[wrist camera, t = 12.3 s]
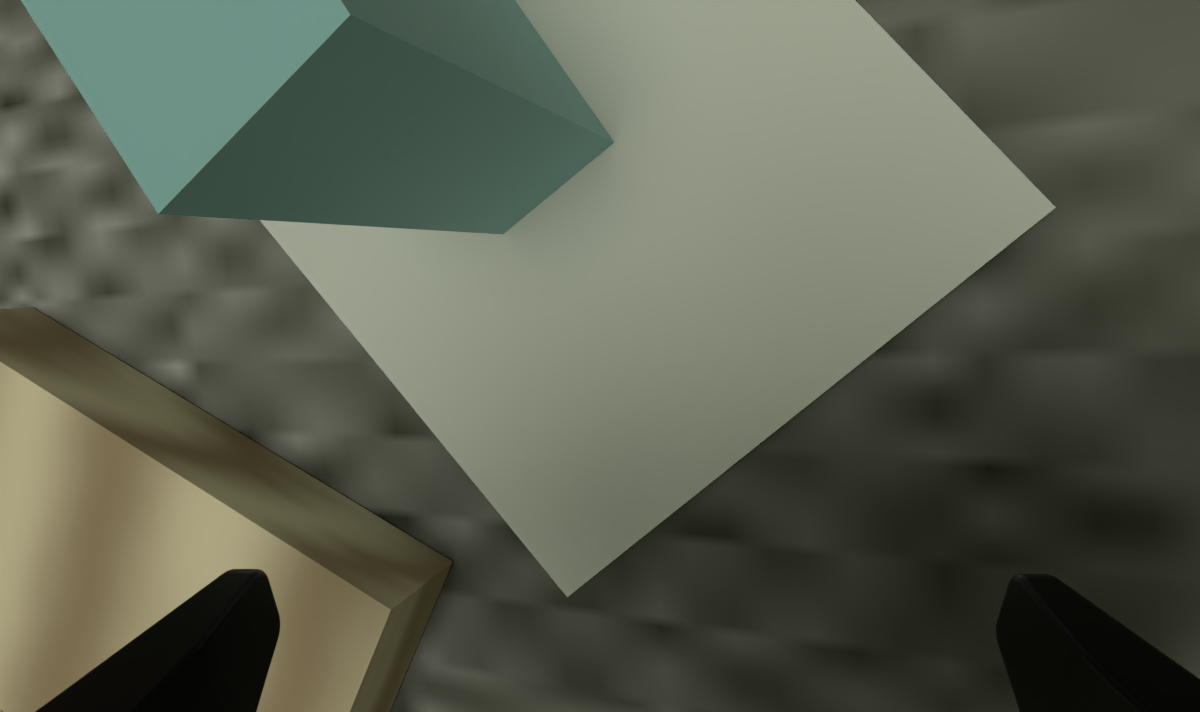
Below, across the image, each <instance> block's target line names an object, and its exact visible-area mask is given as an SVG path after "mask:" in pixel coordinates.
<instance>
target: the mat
mask: <svg viewBox="0 0 1200 712" xmlns="http://www.w3.org/2000/svg"><path fill="white" fill-rule="evenodd" d="M515 1H516V2H517V4H518V5H519V7H520V8H521V10H522V11H523V12H524V14H525V15H526V17H527V18H528V19H529V21H530V22H531V24H532V25H533V27H534V28H535V29H536V31H537V32H538V34H539V35H540V37H541V38H542V39H543V41H544V42H545V44H546V45H547V47H548V48H549V49H550V51H551V52H552V54H553V55H554V57H555V58H556V59H557V61H558V62H559V64H560V65H561V67H562V68H563V69H564V71H565V72H566V74H567V75H568V77H569V78H570V79H571V81H572V82H573V84H574V85H575V87H576V88H577V89H578V91H579V92H580V94H581V95H582V97H583V98H584V99H585V101H586V102H587V104H588V105H589V107H590V108H591V109H592V111H593V112H594V114H595V115H596V117H597V118H598V119H599V121H600V122H601V124H602V125H603V127H604V128H605V129H606V131H607V132H608V134H609V135H610V137H611V138H612V139H613V141H614V143H613V144H612V145H611V146H610V147H608V148H607V149H606V150H605V151H604V152H602V153H601V154H600V155H599V156H597V157H596V158H595V159H594V160H593V161H591V162H590V163H589V164H588V165H587V166H585V167H584V168H583V169H582V170H580V171H579V172H578V173H577V174H576V175H574V176H573V177H572V178H571V179H570V180H568V181H567V182H566V183H565V184H564V185H562V186H561V187H560V188H559V189H557V190H556V191H555V192H554V193H553V194H551V195H550V196H549V197H548V198H547V199H545V200H544V201H543V202H542V203H540V204H539V205H538V206H537V207H536V208H534V209H533V210H532V211H531V212H530V213H528V214H527V215H526V216H525V217H524V218H522V219H521V220H520V221H519V222H517V223H516V224H515V225H514V226H513V227H511V228H510V229H509V230H508V231H507V232H505V233H504V234H488V233H471V232H454V231H437V230H420V229H403V228H386V227H369V226H352V225H335V224H319V223H302V222H285V221H268V220H260V221H261V222H262V223H263V225H264V226H265V227H266V228H267V230H268V231H269V232H270V233H271V235H272V236H273V237H274V238H275V239H276V241H277V242H278V243H279V244H280V246H281V247H282V248H283V249H284V250H285V252H286V253H287V254H288V255H289V257H290V258H291V259H292V260H293V262H294V263H295V264H296V265H297V266H298V268H299V269H300V270H301V271H302V273H303V274H304V275H305V276H306V277H307V279H308V280H309V281H310V282H311V284H312V285H313V286H314V287H315V289H316V290H317V291H318V292H319V293H320V295H321V296H322V297H323V298H324V300H325V301H326V302H327V303H328V304H329V306H330V307H331V308H332V309H333V311H334V312H335V313H336V314H337V315H338V317H339V318H340V319H341V320H342V322H343V323H344V324H345V325H346V327H347V328H348V329H349V330H350V331H351V333H352V334H353V335H354V336H355V338H356V339H357V340H358V341H359V342H360V344H361V345H362V346H363V347H364V349H365V350H366V351H367V352H368V354H369V355H370V356H371V357H372V358H373V360H374V361H375V362H376V363H377V365H378V366H379V367H380V368H381V369H382V371H383V372H384V373H385V374H386V376H387V377H388V378H389V379H390V381H391V382H392V383H393V384H394V385H395V387H396V388H397V389H398V390H399V392H400V393H401V394H402V395H403V396H404V398H405V399H406V400H407V401H408V403H409V404H410V405H411V406H412V407H413V409H414V410H415V411H416V412H417V414H418V415H419V416H420V417H421V419H422V420H423V421H424V422H425V423H426V425H427V426H428V427H429V428H430V430H431V431H432V432H433V433H434V434H435V436H436V437H437V438H438V439H439V441H440V442H441V443H442V444H443V446H444V447H445V448H446V449H447V450H448V452H449V453H450V454H451V455H452V457H453V458H454V459H455V460H456V461H457V463H458V464H459V465H460V466H461V468H462V469H463V470H464V471H465V473H466V474H467V475H468V476H469V477H470V479H471V480H472V481H473V482H474V484H475V485H476V486H477V487H478V488H479V490H480V491H481V492H482V493H483V495H484V496H485V497H486V498H487V499H488V501H489V502H490V503H491V504H492V506H493V507H494V508H495V509H496V511H497V512H498V513H499V514H500V515H501V517H502V518H503V519H504V520H505V522H506V523H507V524H508V525H509V526H510V528H511V529H512V530H513V531H514V533H515V534H516V535H517V536H518V538H519V539H520V540H521V541H522V542H523V544H524V545H525V546H526V547H527V549H528V550H529V551H530V552H531V553H532V555H533V556H534V557H535V558H536V560H537V561H538V562H539V563H540V565H541V566H542V567H543V568H544V569H545V571H546V572H547V573H548V574H549V576H550V577H551V578H552V579H553V580H554V582H555V583H556V584H557V585H558V587H559V588H560V589H561V590H562V591H563V593H564V594H565V595H566V596H567V597H568V596H570V595H571V594H572V593H573V592H575V591H576V590H577V589H578V588H580V587H581V586H582V585H583V584H585V583H586V582H587V581H588V580H590V579H591V578H592V577H593V576H595V575H596V574H597V573H598V572H600V571H601V570H602V569H603V568H605V567H606V566H607V565H608V564H610V563H611V562H612V561H613V560H615V559H616V558H617V557H618V556H620V555H621V554H622V553H623V552H625V551H626V550H627V549H628V548H630V547H631V546H632V545H633V544H635V543H636V542H637V541H638V540H640V539H641V538H642V537H643V536H645V535H646V534H647V533H649V532H650V531H651V530H652V529H654V528H655V527H656V526H657V525H659V524H660V523H661V522H662V521H664V520H665V519H666V518H667V517H669V516H670V515H671V514H672V513H674V512H675V511H676V510H677V509H679V508H680V507H681V506H682V505H684V504H685V503H686V502H687V501H689V500H690V499H691V498H692V497H694V496H695V495H696V494H697V493H699V492H700V491H701V490H702V489H704V488H705V487H706V486H707V485H709V484H710V483H711V482H712V481H714V480H715V479H716V478H717V477H719V476H720V475H721V474H722V473H724V472H725V471H726V470H727V469H729V468H730V467H731V466H732V465H734V464H735V463H736V462H737V461H739V460H740V459H741V458H742V457H744V456H745V455H746V454H747V453H749V452H750V451H751V450H752V449H754V448H755V447H756V446H758V445H759V444H760V443H761V442H763V441H764V440H765V439H766V438H768V437H769V436H770V435H771V434H773V433H774V432H775V431H776V430H778V429H779V428H780V427H781V426H783V425H784V424H785V423H786V422H788V421H789V420H790V419H791V418H793V417H794V416H795V415H796V414H798V413H799V412H800V411H801V410H803V409H804V408H805V407H806V406H808V405H809V404H810V403H811V402H813V401H814V400H815V399H816V398H818V397H819V396H820V395H821V394H823V393H824V392H825V391H826V390H828V389H829V388H830V387H831V386H833V385H834V384H835V383H836V382H838V381H839V380H840V379H841V378H843V377H844V376H845V375H846V374H848V373H849V372H850V371H851V370H853V369H854V368H855V367H856V366H858V365H859V364H860V363H861V362H863V361H864V360H865V359H866V358H868V357H869V356H870V355H872V354H873V353H874V352H875V351H877V350H878V349H879V348H880V347H882V346H883V345H884V344H885V343H887V342H888V341H889V340H890V339H892V338H893V337H894V336H895V335H897V334H898V333H899V332H900V331H902V330H903V329H904V328H905V327H907V326H908V325H909V324H910V323H912V322H913V321H914V320H915V319H917V318H918V317H919V316H920V315H922V314H923V313H924V312H925V311H927V310H928V309H929V308H930V307H932V306H933V305H934V304H935V303H937V302H938V301H939V300H940V299H942V298H943V297H944V296H945V295H947V294H948V293H949V292H950V291H952V290H953V289H954V288H955V287H957V286H958V285H959V284H960V283H962V282H963V281H964V280H965V279H967V278H968V277H969V276H970V275H972V274H973V273H974V272H975V271H977V270H978V269H979V268H981V267H982V266H983V265H984V264H986V263H987V262H988V261H989V260H991V259H992V258H993V257H994V256H996V255H997V254H998V253H999V252H1001V251H1002V250H1003V249H1004V248H1006V247H1007V246H1008V245H1009V244H1011V243H1012V242H1013V241H1014V240H1016V239H1017V238H1018V237H1019V236H1021V235H1022V234H1023V233H1024V232H1026V231H1027V230H1028V229H1029V228H1031V227H1032V226H1033V225H1034V224H1036V223H1037V222H1038V221H1039V220H1041V219H1042V218H1043V217H1044V216H1046V215H1047V214H1048V213H1049V212H1051V211H1052V210H1053V209H1054V208H1056V207H1055V206H1054V205H1053V204H1052V203H1051V202H1050V201H1049V200H1048V199H1047V198H1046V197H1045V196H1044V195H1043V194H1042V193H1041V192H1040V191H1039V190H1038V189H1037V188H1036V187H1035V186H1034V185H1033V184H1032V182H1031V181H1030V180H1029V179H1028V178H1027V177H1026V176H1025V175H1024V174H1023V173H1022V172H1021V171H1020V170H1019V169H1018V168H1017V167H1016V166H1015V165H1014V164H1013V163H1012V162H1011V161H1010V160H1009V159H1008V158H1007V157H1006V156H1005V155H1004V154H1003V152H1002V151H1001V150H1000V149H999V148H998V147H997V146H996V145H995V144H994V143H993V142H992V141H991V140H990V139H989V138H988V137H987V136H986V135H985V134H984V133H983V132H982V131H981V130H980V129H979V128H978V127H977V126H976V125H975V124H974V123H973V121H972V120H971V119H970V118H969V117H968V116H967V115H966V114H965V113H964V112H963V111H962V110H961V109H960V108H959V107H958V106H957V105H956V104H955V103H954V102H953V101H952V100H951V99H950V98H949V97H948V96H947V95H946V94H945V93H944V92H943V90H942V89H941V88H940V87H939V86H938V85H937V84H936V83H935V82H934V81H933V80H932V79H931V78H930V77H929V76H928V75H927V74H926V73H925V72H924V71H923V70H922V69H921V68H920V67H919V66H918V65H917V64H916V63H915V62H914V61H913V59H912V58H911V57H910V56H909V55H908V54H907V53H906V52H905V51H904V50H903V49H902V48H901V47H900V46H899V45H898V44H897V43H896V42H895V41H894V40H893V39H892V38H891V37H890V36H889V35H888V34H887V33H886V32H885V31H884V30H883V28H882V27H881V26H880V25H879V24H878V23H877V22H876V21H875V20H874V19H873V18H872V17H871V16H870V15H869V14H868V13H867V12H866V11H865V10H864V9H863V8H862V7H861V6H860V5H859V4H858V3H857V2H856V1H855V0H515Z"/></svg>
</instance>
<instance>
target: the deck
mask: <svg viewBox="0 0 1200 712" xmlns="http://www.w3.org/2000/svg"><path fill="white" fill-rule="evenodd" d="M451 565H452V561H451V560H449V559H448V558H446V557H444V556H443V555H441V554H439V553H438V552H436V551H434V550H433V549H431V548H429V547H428V546H426V545H424V544H423V543H421V542H419V541H418V540H416V539H414V538H413V537H411V536H410V535H408V534H406V533H405V532H403V531H401V530H400V529H398V528H396V527H395V526H393V525H391V524H390V523H388V522H386V521H385V520H383V519H381V518H380V517H378V516H376V515H375V514H373V513H372V512H370V511H368V510H367V509H365V508H363V507H362V506H360V505H358V504H357V503H355V502H353V501H352V500H350V499H348V498H347V497H345V496H343V495H342V494H340V493H338V492H337V491H335V490H334V489H332V488H330V487H329V486H327V485H325V484H324V483H322V482H320V481H319V480H317V479H315V478H314V477H312V476H310V475H309V474H307V473H305V472H304V471H302V470H300V469H299V468H297V467H296V466H294V465H292V464H291V463H289V462H287V461H286V460H284V459H282V458H281V457H279V456H277V455H276V454H274V453H272V452H271V451H269V450H267V449H266V448H264V447H263V446H261V445H259V444H258V443H256V442H254V441H253V440H251V439H249V438H248V437H246V436H244V435H243V434H241V433H239V432H238V431H236V430H234V429H233V428H231V427H229V426H228V425H226V424H225V423H223V422H221V421H220V420H218V419H216V418H215V417H213V416H211V415H210V414H208V413H206V412H205V411H203V410H201V409H200V408H198V407H196V406H195V405H193V404H191V403H190V402H188V401H187V400H185V399H183V398H182V397H180V396H178V395H177V394H175V393H173V392H172V391H170V390H168V389H167V388H165V387H163V386H162V385H160V384H158V383H157V382H155V381H153V380H152V379H150V378H149V377H147V376H145V375H144V374H142V373H140V372H139V371H137V370H135V369H134V368H132V367H130V366H129V365H127V364H125V363H124V362H122V361H120V360H119V359H117V358H115V357H114V356H112V355H111V354H109V353H107V352H106V351H104V350H102V349H101V348H99V347H97V346H96V345H94V344H92V343H91V342H89V341H87V340H86V339H84V338H82V337H81V336H79V335H77V334H76V333H74V332H73V331H71V330H69V329H68V328H66V327H64V326H63V325H61V324H59V323H58V322H56V321H54V320H53V319H51V318H49V317H48V316H46V315H44V314H43V313H41V312H39V311H38V310H36V309H35V308H33V307H29V308H14V309H0V709H1V710H2V711H4V712H35V711H37V710H38V709H39V708H41V707H42V706H43V705H45V704H46V703H48V702H49V701H50V700H52V699H53V698H54V697H56V696H57V695H58V694H60V693H61V692H62V691H64V690H65V689H67V688H68V687H69V686H71V685H72V684H73V683H75V682H76V681H77V680H79V679H80V678H81V677H83V676H84V675H86V674H87V673H88V672H90V671H91V670H92V669H94V668H95V667H96V666H98V665H99V664H101V663H102V662H103V661H105V660H106V659H107V658H109V657H110V656H111V655H113V654H114V653H115V652H117V651H118V650H120V649H121V648H122V647H124V646H125V645H126V644H128V643H129V642H130V641H132V640H133V639H134V638H136V637H137V636H139V635H140V634H141V633H143V632H144V631H145V630H147V629H148V628H149V627H151V626H152V625H154V624H155V623H156V622H158V621H159V620H160V619H162V618H163V617H164V616H166V615H167V614H168V613H170V612H171V611H173V610H174V609H175V608H177V607H178V606H179V605H181V604H182V603H183V602H185V601H186V600H187V599H189V598H190V597H192V596H193V595H194V594H196V593H197V592H198V591H200V590H201V589H202V588H204V587H205V586H207V585H208V584H209V583H211V582H212V581H213V580H215V579H216V578H217V577H219V576H220V575H221V574H223V573H225V572H226V571H228V570H231V569H259V570H263V571H264V572H265V573H266V574H267V576H268V579H269V582H270V585H271V589H272V592H273V595H274V599H275V602H276V605H277V609H278V612H279V616H280V633H279V637H278V641H277V644H276V648H275V651H274V654H273V658H272V661H271V664H270V668H269V671H268V674H267V678H266V681H265V684H264V688H263V691H262V694H261V698H260V701H259V705H258V708H257V711H256V712H390V710H391V708H392V705H393V703H394V701H395V698H396V696H397V693H398V691H399V689H400V686H401V684H402V682H403V679H404V677H405V674H406V672H407V670H408V667H409V665H410V662H411V660H412V658H413V655H414V653H415V651H416V648H417V646H418V643H419V641H420V639H421V636H422V634H423V632H424V629H425V627H426V624H427V622H428V620H429V617H430V615H431V612H432V610H433V608H434V605H435V603H436V601H437V598H438V596H439V593H440V591H441V589H442V586H443V584H444V582H445V579H446V577H447V574H448V572H449V570H450V567H451Z"/></svg>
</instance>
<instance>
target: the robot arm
mask: <svg viewBox="0 0 1200 712" xmlns="http://www.w3.org/2000/svg"><path fill="white" fill-rule="evenodd" d="M279 633H280V616H279V612H278V609H277V605H276V602H275V599H274V595H273V592H272V589H271V585H270V582H269V579H268V576H267V574H266V573H265V572H264V571H263V570H259V569H231V570H228V571H226V572H225V573H223V574H221V575H220V576H219V577H217V578H216V579H215V580H213V581H212V582H211V583H209V584H208V585H207V586H205V587H204V588H202V589H201V590H200V591H198V592H197V593H196V594H194V595H193V596H192V597H190V598H189V599H187V600H186V601H185V602H183V603H182V604H181V605H179V606H178V607H177V608H175V609H174V610H173V611H171V612H170V613H168V614H167V615H166V616H164V617H163V618H162V619H160V620H159V621H158V622H156V623H155V624H154V625H152V626H151V627H149V628H148V629H147V630H145V631H144V632H143V633H141V634H140V635H139V636H137V637H136V638H134V639H133V640H132V641H130V642H129V643H128V644H126V645H125V646H124V647H122V648H121V649H120V650H118V651H117V652H115V653H114V654H113V655H111V656H110V657H109V658H107V659H106V660H105V661H103V662H102V663H101V664H99V665H98V666H96V667H95V668H94V669H92V670H91V671H90V672H88V673H87V674H86V675H84V676H83V677H81V678H80V679H79V680H77V681H76V682H75V683H73V684H72V685H71V686H69V687H68V688H67V689H65V690H64V691H62V692H61V693H60V694H58V695H57V696H56V697H54V698H53V699H52V700H50V701H49V702H48V703H46V704H45V705H43V706H42V707H41V708H39V709H38V710H37V711H35V712H256V711H257V708H258V705H259V701H260V698H261V694H262V691H263V688H264V684H265V681H266V678H267V674H268V671H269V668H270V664H271V661H272V658H273V654H274V651H275V648H276V644H277V641H278V637H279ZM996 636H997V641H998V645H999V648H1000V651H1001V654H1002V658H1003V661H1004V664H1005V667H1006V670H1007V673H1008V676H1009V679H1010V682H1011V686H1012V689H1013V692H1014V695H1015V698H1016V701H1017V704H1018V707H1019V710H1020V712H1200V679H1199V678H1198V677H1196V676H1195V675H1193V674H1192V673H1190V672H1189V671H1188V670H1186V669H1185V668H1183V667H1182V666H1181V665H1179V664H1178V663H1176V662H1175V661H1173V660H1172V659H1171V658H1169V657H1168V656H1166V655H1165V654H1164V653H1162V652H1161V651H1159V650H1158V649H1156V648H1155V647H1154V646H1152V645H1151V644H1149V643H1148V642H1147V641H1145V640H1144V639H1142V638H1141V637H1139V636H1138V635H1137V634H1135V633H1134V632H1132V631H1131V630H1130V629H1128V628H1127V627H1125V626H1124V625H1123V624H1121V623H1120V622H1118V621H1117V620H1115V619H1114V618H1113V617H1111V616H1110V615H1108V614H1107V613H1106V612H1104V611H1103V610H1101V609H1100V608H1098V607H1097V606H1096V605H1094V604H1093V603H1091V602H1090V601H1089V600H1087V599H1086V598H1084V597H1083V596H1081V595H1080V594H1079V593H1077V592H1076V591H1074V590H1073V589H1072V588H1070V587H1069V586H1067V585H1066V584H1064V583H1063V582H1062V581H1060V580H1059V579H1057V578H1055V577H1054V576H1051V575H1047V574H1018V575H1015V576H1014V577H1013V578H1012V579H1011V580H1010V582H1009V585H1008V588H1007V591H1006V594H1005V597H1004V601H1003V604H1002V607H1001V610H1000V613H999V616H998V620H997V624H996Z"/></svg>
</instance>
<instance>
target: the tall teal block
mask: <svg viewBox="0 0 1200 712" xmlns="http://www.w3.org/2000/svg"><path fill="white" fill-rule="evenodd" d="M21 1H22V3H23V4H24V6H25V7H26V9H27V11H28V12H29V14H30V15H31V17H32V18H33V20H34V21H35V23H36V25H37V26H38V28H39V29H40V31H41V32H42V34H43V35H44V37H45V39H46V40H47V42H48V43H49V45H50V46H51V48H52V49H53V51H54V53H55V54H56V56H57V57H58V59H59V60H60V62H61V63H62V65H63V67H64V68H65V70H66V71H67V73H68V74H69V76H70V77H71V79H72V81H73V82H74V84H75V85H76V87H77V88H78V90H79V91H80V93H81V95H82V96H83V98H84V99H85V101H86V102H87V104H88V105H89V107H90V109H91V110H92V112H93V113H94V115H95V116H96V118H97V119H98V121H99V123H100V124H101V126H102V127H103V129H104V130H105V132H106V133H107V135H108V137H109V138H110V140H111V141H112V143H113V144H114V146H115V147H116V149H117V151H118V152H119V154H120V155H121V157H122V158H123V160H124V161H125V163H126V165H127V166H128V168H129V169H130V171H131V172H132V174H133V175H134V177H135V179H136V180H137V182H138V183H139V185H140V186H141V188H142V189H143V191H144V193H145V194H146V196H147V197H148V199H149V200H150V202H151V203H152V205H153V207H154V208H155V210H156V211H157V213H158V214H166V215H183V216H200V217H217V218H234V219H251V220H268V221H285V222H302V223H319V224H335V225H352V226H369V227H386V228H403V229H420V230H437V231H454V232H471V233H488V234H504V233H505V232H507V231H508V230H509V229H510V228H511V227H513V226H514V225H515V224H516V223H517V222H519V221H520V220H521V219H522V218H524V217H525V216H526V215H527V214H528V213H530V212H531V211H532V210H533V209H534V208H536V207H537V206H538V205H539V204H540V203H542V202H543V201H544V200H545V199H547V198H548V197H549V196H550V195H551V194H553V193H554V192H555V191H556V190H557V189H559V188H560V187H561V186H562V185H564V184H565V183H566V182H567V181H568V180H570V179H571V178H572V177H573V176H574V175H576V174H577V173H578V172H579V171H580V170H582V169H583V168H584V167H585V166H587V165H588V164H589V163H590V162H591V161H593V160H594V159H595V158H596V157H597V156H599V155H600V154H601V153H602V152H604V151H605V150H606V149H607V148H608V147H610V146H611V145H612V144H613V143H614V141H613V139H612V138H611V137H610V135H609V134H608V132H607V131H606V129H605V128H604V127H603V125H602V124H601V122H600V121H599V119H598V118H597V117H596V115H595V114H594V112H593V111H592V109H591V108H590V107H589V105H588V104H587V102H586V101H585V99H584V98H583V97H582V95H581V94H580V92H579V91H578V89H577V88H576V87H575V85H574V84H573V82H572V81H571V79H570V78H569V77H568V75H567V74H566V72H565V71H564V69H563V68H562V67H561V65H560V64H559V62H558V61H557V59H556V58H555V57H554V55H553V54H552V52H551V51H550V49H549V48H548V47H547V45H546V44H545V42H544V41H543V39H542V38H541V37H540V35H539V34H538V32H537V31H536V29H535V28H534V27H533V25H532V24H531V22H530V21H529V19H528V18H527V17H526V15H525V14H524V12H523V11H522V10H521V8H520V7H519V5H518V4H517V2H516V1H515V0H21Z"/></svg>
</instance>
